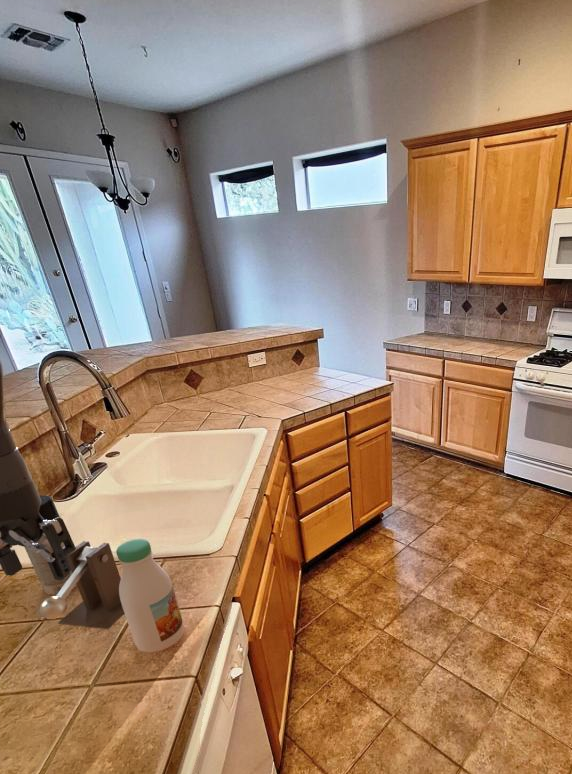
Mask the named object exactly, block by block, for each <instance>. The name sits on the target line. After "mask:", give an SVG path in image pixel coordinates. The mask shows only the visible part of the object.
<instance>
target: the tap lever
mask: <svg viewBox="0 0 572 774" xmlns="http://www.w3.org/2000/svg"><path fill="white" fill-rule="evenodd" d="M96 548H98V547H95V546H91V547H87V546H86V547H85V548H84V550H83V551H82V552H81V553H80V555H79V556H78V557H77V560H78V561H79V562H80V564H79V565H78V567H77V568H76V569H75V571H74V572H73V574H72V575H71V576H70V578H69V579H68V580H67V582H66V583H65V584H64V586H63V587H62V588H61V590H60V591H59V592H58V594H55V596H50V597H47V598H45V599H44V600H43V601H42V602H41V603H40V604H39V607H38V611H39V614H40V616H41V617H42V618H44V619H47V620H55V619H57V618H60V617H61V616H63V615H64V614H65V612H66V611H67V609H68V604H67V601H66V599H67V597H68V596H69V594H70V593H71V592H72V591H73V589H75V588H74V586H75V585H76V583H77V582H78V581H79V579H80V578H81V577H82V575H83V574H84V572H85V571H86V570H87V568H88V567H89V565H88V562H87V559H86V556H87V555H88V554H90V553H91V552H92V551H94V550H95V549H96Z"/></svg>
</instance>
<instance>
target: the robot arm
mask: <svg viewBox="0 0 572 774" xmlns="http://www.w3.org/2000/svg"><path fill="white" fill-rule="evenodd" d="M3 371H4V370H3V366H2V361H1V360H0V567H1V569H2V571H3V572H4V574H5V575H6V576H10V577H11V576H14V575H16V574H17V573H18V572H20V571H21V570H23V565H22V563H21V561H20V558H19V556H18V554H17V552H16V550H15V549H13V547H14V546H20V547H23V548H24V547H27V548H28V549H29V550H31V551H32V552H33V553H39V554H41V555H42V556H43V557H44V558H45V559H46V560H48V565H49V567H50V569H51V572H52V574H53V576H54V579H55V580H62V579H64V578H65V577H66V576H68V575H69V574H70V572H71V569H70V566H69V564H68V561H67V559H66V556H67V555H69V554H70V553H71V552H73V551H74V550H75V549H76V546H75V543H74V541H73V539H72V537H71V534H70V532H69V529H68V528H67V525H66V523H65V521H64V519H63V518H62V517H61V516H60V517H57V518H55V519H53V520H44V519H43V518H42V516H41V515H40V514H39V508H40V505H41V499H40V496H39V495H40V494H39V492H38V491H39V490H38V489H37V486H36V484H35V482H34V479H33V477H32V475H31V472H30V469H29V467H28V464H27V462H26V460H25V458H24V457H23V455H22V453H21V452H20V450H19V447H18V446H17V444H16V441H15V438H14V436H13V433H12V431H11V429H10V426H9V424H8V420H7V415H6V408H5V407H6V406H5V397H4V372H3ZM42 535H43V536H44V537H45V538H46V540H45V541H43V542H42V543H40V544H36V542H37V541H39V540H40V539H41V537H42ZM62 542H63V543H64V545H65V547H63V546H62V545H61V543H62ZM46 546H51V548H52V550H53V552H52V553H51V552H50V551H49V550H47V549H46Z"/></svg>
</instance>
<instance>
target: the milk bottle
mask: <svg viewBox="0 0 572 774" xmlns="http://www.w3.org/2000/svg"><path fill="white" fill-rule="evenodd" d="M115 553H116V557H117V559H118V562H119V564H120V565H121V566H122V572H121V576H120V578H121V581H120V585H119V595H120V600H121V604H122V607H123V610H124V615H125V616H124V617H125V618H126V622H127V624H128V627H129V630H130V633H131V636H132V639H133V642H134V645H135V647H136V648H137V650H139V652H140V651H141V652H144V653H157V652H161V651H164V650H166V649H168V648H170V647H172V646H173V645H175V644H176V643H177V642H178V641H180V639H181V638H182V637H183V635H184V632H185V624H184V620H183V617H182V614H181V609H180V606H179V602H178V598H177V596H176V592H175V588H174V586H173V583H172V580H171V578H170V576H169V574H168V573H167V572H166V570H165V569H164V568H162V567H161V566H160V565H159V564H158V562H156V560H155V559H154V558H153V551H152V547H151V544H150V542H149V540H147V539H144V538H134V539H130V540H128V541H124V542H122V543H121V544H120V545H119V546H118V547H117V548H116V551H115Z"/></svg>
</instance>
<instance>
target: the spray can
mask: <svg viewBox="0 0 572 774" xmlns="http://www.w3.org/2000/svg"><path fill="white" fill-rule="evenodd" d="M39 496H40V499H41V505H40V508H39V514H40V515H41V516H42V518H43V519H44V520H53V519H55V518H57V517H60V518H61V516H60V514H59V512H58V510H57V507H56V504H55V502H54V500H53V499H54V498H52V497H51V496H50V495H47V494H46V495H44V494H39ZM45 540H46V538H45V537H44V536H43V535H42V537H41V539H40V540H39V541H37V542H36V544H40V543H42V542H43V541H45ZM61 545H62V546H63V547H65V545H64V543H63V542H62V543H61ZM23 548H24V550H25V552H26V554H27V556H28V558H29V561H30V564H31V565H32V567H33V569H34V572H35V574H36V576H37V579H38V581H39V583H40V585H41V588H42V590H43V592H44V593H46V594H47V595H57V594H58V592H59V591H60V590H61V588H62V587H63V586H64V584H65V583H66V582H67V580H68V579H69V578H70V576H71V575H72V572H70V574H69V575H68V576H66V577H65V578H64V579H62V580H55V579H54V576H53V574H52V572H51V569H50V567H49V565H48V560H46V559H45V558H44V557H43V556H42V555H41V554H39V553H33V552H32V551H31V550H29V549H28V548H27V547H23ZM46 549H47V550H49V551H50V552H51V553H52V552H53V550H52V548H51V546H46ZM75 588H78V587H77V584H76V585H75V586H74V588H73V589H75Z"/></svg>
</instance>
